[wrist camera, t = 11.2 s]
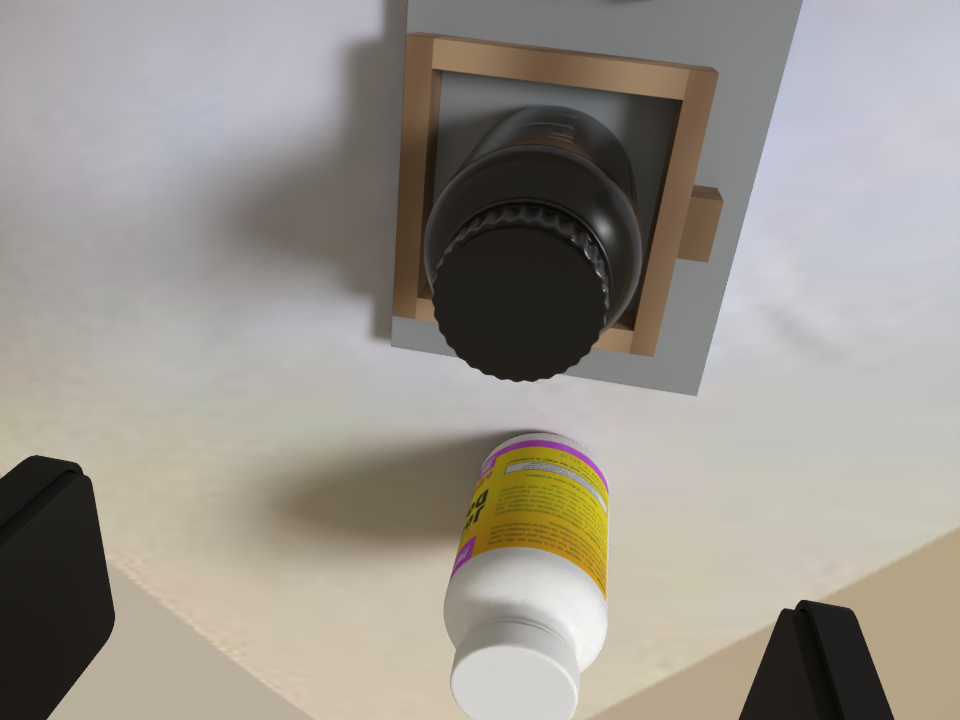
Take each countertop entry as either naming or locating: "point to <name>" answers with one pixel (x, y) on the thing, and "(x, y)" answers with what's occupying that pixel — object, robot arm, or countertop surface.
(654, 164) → the board
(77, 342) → the countertop surface
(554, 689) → the supplement bottle
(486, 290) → the supplement bottle
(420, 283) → the frame
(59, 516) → the robot arm
